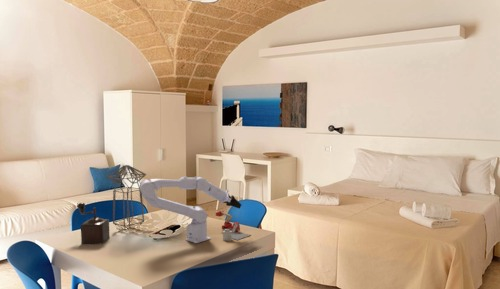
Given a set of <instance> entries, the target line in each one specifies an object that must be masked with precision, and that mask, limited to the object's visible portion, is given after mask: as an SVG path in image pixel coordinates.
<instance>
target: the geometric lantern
mask: <svg viewBox="0 0 500 289" xmlns="http://www.w3.org/2000/svg"><path fill="white" fill-rule="evenodd" d="M115 173H116V174H115ZM114 174H115V175H114ZM128 174H129V175H130V177H127V175H128ZM146 176H147V173H145V172H143V171H142V170H141V171H140V170H139V169H137V168H135V167H133V166H131V165H129V164H124V165H123V166H121V167H119V168H118V169H116V170H115V171H113V172H111V173H109V174H108V175H106V178H108V179H109V180H110V181H111V182H112V183H113V185H114V189H113V191H112V192H113V194H112V195H113V199H112V200H113V201H112V211H113V212H112V224H113V225H115V226H116V225H118V226H121V227H123V228H127V227H129V228H130V227H133V226H134V225H135V224H138V225H139V224H140V226H141V225H142V224H143V223H145V218H144V216H145V215H144V203H143V196H142V193H141V190H140V183H141V181H142V179H143V178H145V177H146ZM130 179H131V180H132V181H131V180H130ZM124 180H127V181H129V182H130V183H131V186H130V187H129V186H128V184H127V183H126V182H125V181H124ZM121 182H124V184H125V185H126V187H121V185H120V183H121ZM134 184H137V186H138V188H137V187H133V185H134ZM117 185H118V187H119V188H118V189H116V188H117ZM123 189H125V190H126V189H127V191H126V192H125V191H124V190H123ZM134 189H136V190H134ZM132 190H133V191H132ZM133 192H139V199H140V207H141V215H142V218H137V217H134V208H133V207H134V206H133ZM116 193H121V194H122V196H123V198H122V201H123V202H122V204H123V206H122V207H123V218H122V219H121V218H120V219H118V220H115V216H116V213H115V212H116ZM129 193H130V199H131V200H130V202H131V215H130V206H129ZM125 194H126V200H127V202H126V206H127V207H126V206H125ZM125 207H126V208H125ZM125 209H126V210H125ZM125 211H126V214H125ZM125 216H126V217H125ZM130 216H131V217H130ZM133 219H134V220H138V221H139V222H136V223H132V221H133ZM126 220H127V222H128V223H129V224H128V225H125V224H126V222H125V221H126ZM121 221H123V224H120V223H117V222H121ZM130 222H131V224H130ZM135 226H136V225H135ZM129 228H128V229H129ZM123 231H124V230H120V232H121V233H124V232H123Z"/></svg>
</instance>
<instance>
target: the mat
mask: <svg viewBox="0 0 500 289" xmlns="http://www.w3.org/2000/svg"><path fill="white" fill-rule="evenodd" d="M247 236H248V237H251V236H252V235H251V234H248V233H245V232H241V231H236V232H234V233H233V232H232V240H234V241H240V240H242V239H245V238H247ZM239 239H240V240H239Z"/></svg>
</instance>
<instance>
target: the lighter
mask: <svg viewBox="0 0 500 289" xmlns="http://www.w3.org/2000/svg"><path fill="white" fill-rule="evenodd" d="M236 227H237V224H235V225H234V227H233V229H232V231H229V229H225V230H223V231H222V240H223V241H232V240H233V239H232V233H234V232H235V229H236Z"/></svg>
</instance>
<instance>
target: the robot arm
mask: <svg viewBox="0 0 500 289" xmlns="http://www.w3.org/2000/svg"><path fill="white" fill-rule="evenodd" d="M139 187H140V191H141V193H142V198H144V200H145V201H146V203H148V204H149V206H150V207H154V208H157V209H161V210H164V211H166V212H172V213H175V214H178V215H182V216H185V217H188V218H189V219H191V222H190V223H189V224H187V226H186V238H185V241H188V242H190V243H194V244H198V243H202V242H206V241H208V240H211V237H209V236H208V231H207V230H208V228H207V225H208V224H207V223H208V222H207V221H208V220H207V219H208V214H207V212H206V211H205V210H204V208H203V207H202V206H200V205H196V206H192V205H186V204H183V203H180V202H176V201H173V200H169V199H166V198H163V197H159V196H158V195H157V193H156V191H158V190H160V189H161V188H169V187H170V188H173V187H174V188H175V187H178V188H179V189H180V190H196V189H197V190H198V191H202V192H203V193H205V194H206V195H208V196H210V197H211V198H213V199H215V200H217V201H219V203H220V204H221V203H222V204H225V205H226V206H228V207H234V208H235V209H241V207H242V204H241V202H240V201H238V200H237V199H236V198H235V196H234V195H233V194H232V195H231V196H230V194H229V189H225V190H224V189H222V188H221V187H219V186H217V185H215V184H214V183H212V182H209V181H208V180H207V179H206V178H204V177H201V176H193V177H190V176H189V177H188V176H187V175H184V176H181V177H180V178H179V179H167V178H150V179H145V178H144V179H143V180H140V182H139Z"/></svg>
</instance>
